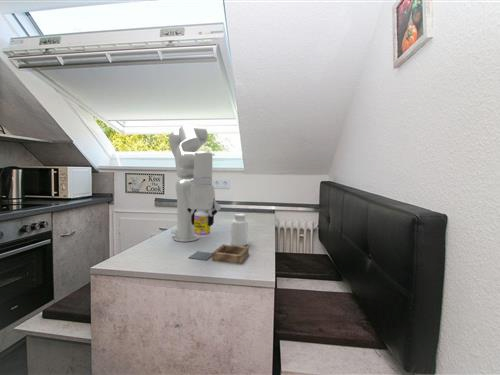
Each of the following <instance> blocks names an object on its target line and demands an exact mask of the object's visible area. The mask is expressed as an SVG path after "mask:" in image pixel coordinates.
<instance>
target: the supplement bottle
mask: <svg viewBox="0 0 500 375" xmlns="http://www.w3.org/2000/svg"><path fill="white" fill-rule="evenodd" d="M208 217H209V213H208V210H197V211H196V212H195V213H194V236H196V237H199V238H207V237H209V236H210V235H211V226H208Z"/></svg>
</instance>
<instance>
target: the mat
mask: <svg viewBox="0 0 500 375" xmlns="http://www.w3.org/2000/svg"><path fill="white" fill-rule="evenodd" d="M212 253H213V252H207V251H199V250H197V251H196V252H193V254H191V255H189V256H188V259H190V260H191V259H192V260H199V261H208V260H210V259H211V258H212Z"/></svg>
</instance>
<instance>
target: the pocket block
mask: <svg viewBox="0 0 500 375" xmlns="http://www.w3.org/2000/svg"><path fill="white" fill-rule="evenodd" d="M249 250H250V247H249V246H234V245H232V244H222V245H221V246H219V247H218V248H216V249H215V250H214V251H213V252H211V253H212V256H211V261H214V262H223V263H230V264H239V265H240V264H242V263H243V261H245V260H246V258H247V257H248V256H249V254H250V253H249Z"/></svg>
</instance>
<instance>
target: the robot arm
mask: <svg viewBox="0 0 500 375" xmlns="http://www.w3.org/2000/svg"><path fill="white" fill-rule="evenodd" d="M208 135H209V134H208V130H207V129H206V128H205V127H204V126H199V125H191V124H184V125H182V126H180V127H179V129H178V130H175V131H172V132H171V133H170V134H169V138H168V141H169V147H170V150H171V153H172V155H173V157H174V161H175V169H176V170H175V171H176V175H177V177H178V178H179V180H177V181H176V183H175V193H176V203H177V204H176V206H177V209H176V212H177V215H176V216H177V218H176V219H177V220H176V225H177V226H176V229H171V232H170V234H171V235H174V236H173V240H174V241H176V242H180V243H182V242H183V243H185V242H194V241H197V240H198V239H199V238H200V237H196V236H194V213H195V212H196V211H197V210H208V213H209V217H208V226H210V227H211V226H213V225H214V223H215V222H214V221H215V219H214V218H215V216H216V214H217V213H218V212H219V211H220V210H221V208H222V206H221V205H220V204H219V203H218V202H217V201H216V193H215V192H216V191H215V187H214V185H213V154H212V152H210V151H199V149H200V148H201V147H202V146H204V144H206V142H207V141H208V138H209V137H208Z"/></svg>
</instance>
